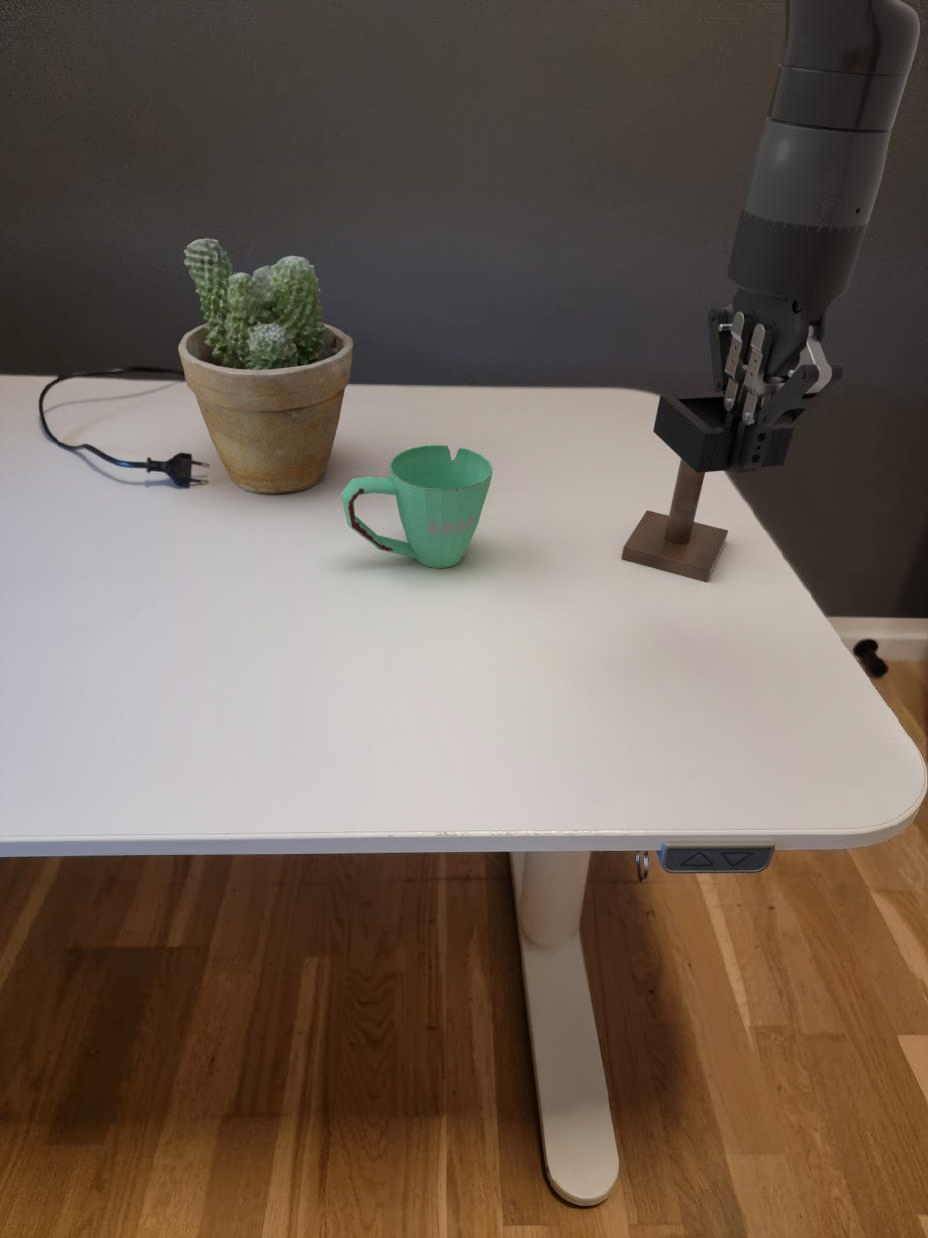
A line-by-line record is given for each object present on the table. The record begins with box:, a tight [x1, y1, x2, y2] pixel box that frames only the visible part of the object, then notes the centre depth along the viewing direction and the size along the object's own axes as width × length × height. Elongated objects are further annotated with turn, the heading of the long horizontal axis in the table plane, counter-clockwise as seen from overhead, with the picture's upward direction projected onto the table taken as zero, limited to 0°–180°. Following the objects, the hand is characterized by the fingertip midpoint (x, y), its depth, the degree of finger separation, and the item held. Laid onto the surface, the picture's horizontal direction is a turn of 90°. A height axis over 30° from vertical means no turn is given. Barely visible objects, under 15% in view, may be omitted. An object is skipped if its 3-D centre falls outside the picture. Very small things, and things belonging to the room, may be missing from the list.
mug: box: [340, 444, 493, 569], centre depth 85 cm, size 15×10×10 cm
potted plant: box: [177, 237, 354, 495], centre depth 94 cm, size 18×19×25 cm
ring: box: [652, 391, 795, 473], centre depth 65 cm, size 7×7×3 cm
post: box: [621, 458, 729, 583], centre depth 88 cm, size 9×9×11 cm
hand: (737, 464), depth 63 cm, fingers closed on ring, 1 cm apart
